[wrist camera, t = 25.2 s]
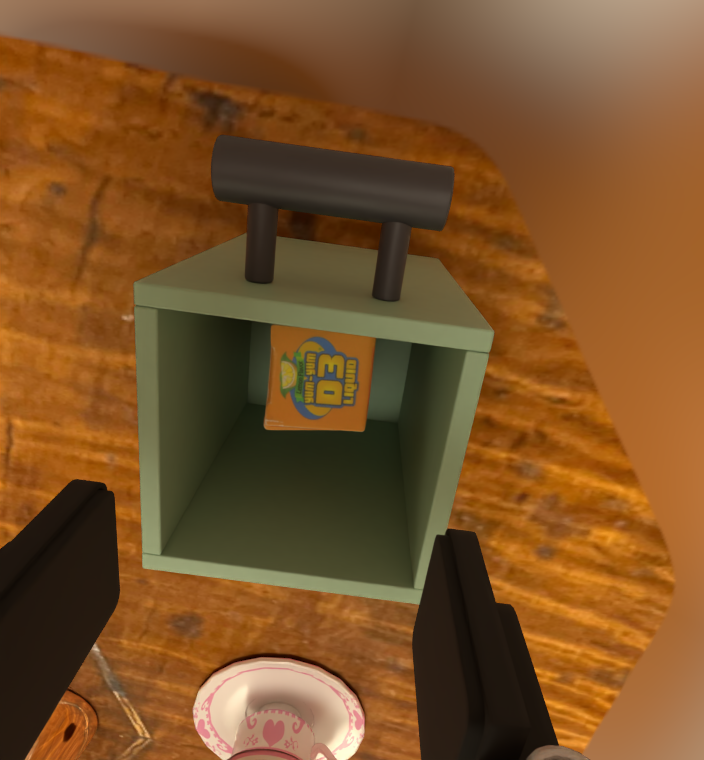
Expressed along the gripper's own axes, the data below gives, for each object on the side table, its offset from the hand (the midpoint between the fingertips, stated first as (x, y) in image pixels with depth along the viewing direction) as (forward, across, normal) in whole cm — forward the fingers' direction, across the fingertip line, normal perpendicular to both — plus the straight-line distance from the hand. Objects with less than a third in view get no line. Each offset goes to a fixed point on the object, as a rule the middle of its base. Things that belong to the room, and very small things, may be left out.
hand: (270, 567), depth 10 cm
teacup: (+16, 0, +28) cm, 32 cm away
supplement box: (+15, 0, 0) cm, 15 cm away
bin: (+10, 0, +4) cm, 11 cm away
